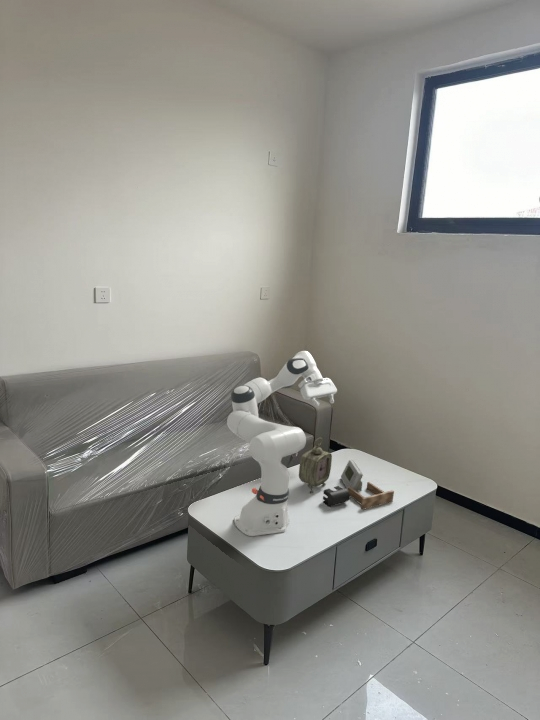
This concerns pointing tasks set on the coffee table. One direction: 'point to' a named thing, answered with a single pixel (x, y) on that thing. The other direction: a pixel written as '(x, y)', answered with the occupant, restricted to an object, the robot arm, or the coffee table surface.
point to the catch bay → (372, 500)
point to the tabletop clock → (315, 466)
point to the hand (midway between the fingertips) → (325, 404)
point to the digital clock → (352, 476)
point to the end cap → (336, 496)
